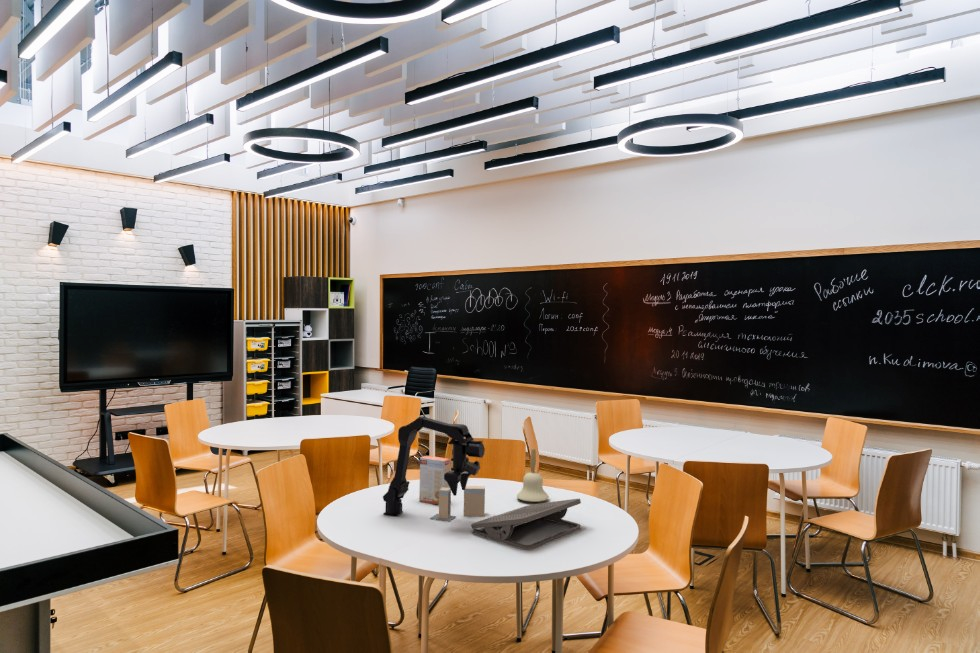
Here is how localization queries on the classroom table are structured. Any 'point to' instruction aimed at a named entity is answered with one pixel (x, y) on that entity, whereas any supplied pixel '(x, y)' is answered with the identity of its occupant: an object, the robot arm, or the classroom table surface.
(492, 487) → the classroom table surface
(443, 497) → the stub
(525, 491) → the handbell
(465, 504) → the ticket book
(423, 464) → the cracker box
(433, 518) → the mat
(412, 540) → the classroom table surface
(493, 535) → the foot rest
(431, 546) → the classroom table surface
